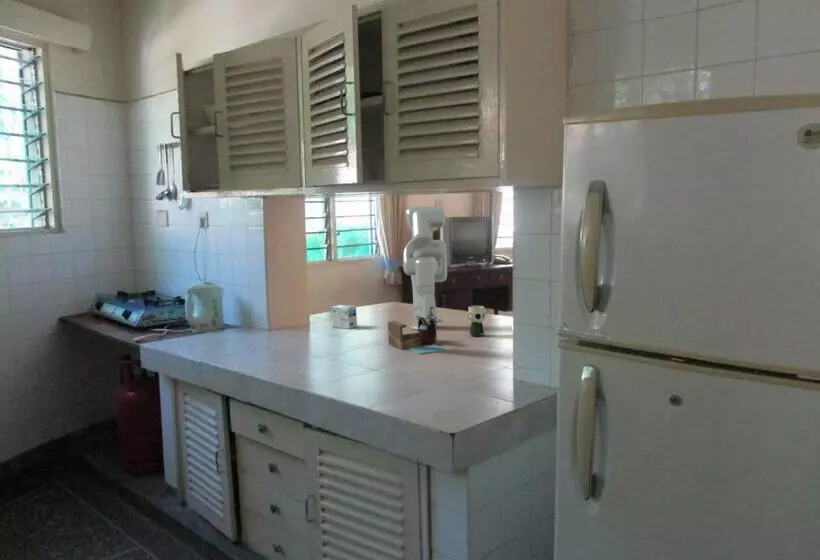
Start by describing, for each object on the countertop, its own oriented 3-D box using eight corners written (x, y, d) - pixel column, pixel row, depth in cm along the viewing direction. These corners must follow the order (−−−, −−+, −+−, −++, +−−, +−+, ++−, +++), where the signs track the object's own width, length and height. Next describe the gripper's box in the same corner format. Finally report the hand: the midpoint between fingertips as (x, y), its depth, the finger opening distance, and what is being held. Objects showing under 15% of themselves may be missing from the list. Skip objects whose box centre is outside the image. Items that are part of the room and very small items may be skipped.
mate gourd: (439, 344, 259) (438, 308, 258) (421, 346, 256) (420, 310, 255) (431, 341, 266) (430, 305, 264) (414, 343, 263) (413, 307, 261)
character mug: (473, 338, 280) (472, 309, 279) (462, 336, 286) (461, 307, 284) (491, 335, 286) (490, 306, 285) (480, 332, 292) (480, 304, 291)
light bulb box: (357, 327, 316) (356, 305, 315) (349, 329, 311) (348, 307, 309) (340, 325, 322) (339, 304, 321) (332, 327, 316) (331, 306, 315)
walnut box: (423, 339, 282) (422, 317, 281) (436, 344, 271) (436, 321, 270) (388, 344, 274) (387, 321, 273) (400, 349, 264) (400, 325, 263)
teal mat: (433, 345, 268) (433, 344, 268) (445, 350, 260) (445, 348, 259) (408, 349, 263) (408, 348, 263) (419, 354, 254) (419, 352, 254)
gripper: (407, 288, 264) (408, 330, 267) (427, 292, 249) (428, 337, 251) (423, 286, 268) (424, 328, 270) (444, 290, 252) (445, 334, 254)
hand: (426, 332), depth 260 cm, fingers closed on mate gourd, 7 cm apart
